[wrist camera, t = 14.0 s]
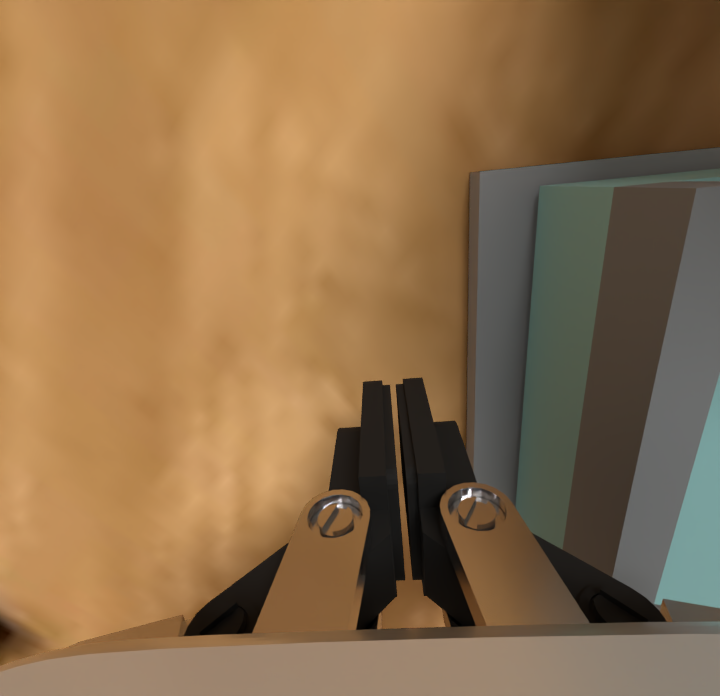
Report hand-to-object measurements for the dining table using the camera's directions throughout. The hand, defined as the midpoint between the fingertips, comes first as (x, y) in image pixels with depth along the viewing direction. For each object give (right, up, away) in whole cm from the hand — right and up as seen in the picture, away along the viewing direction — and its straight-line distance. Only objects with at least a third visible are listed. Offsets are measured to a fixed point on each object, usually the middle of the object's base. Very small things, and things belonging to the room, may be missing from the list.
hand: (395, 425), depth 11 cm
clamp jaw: (+7, +1, +1) cm, 8 cm away
